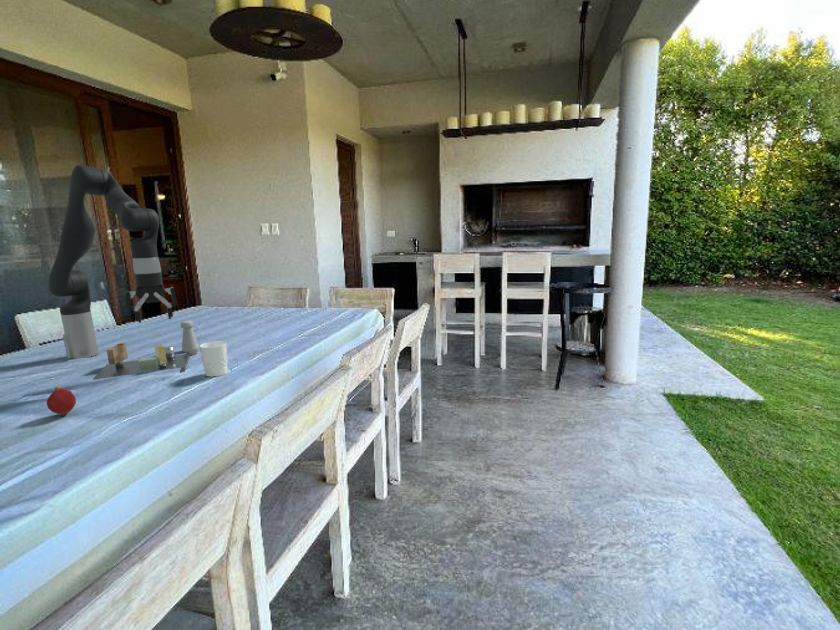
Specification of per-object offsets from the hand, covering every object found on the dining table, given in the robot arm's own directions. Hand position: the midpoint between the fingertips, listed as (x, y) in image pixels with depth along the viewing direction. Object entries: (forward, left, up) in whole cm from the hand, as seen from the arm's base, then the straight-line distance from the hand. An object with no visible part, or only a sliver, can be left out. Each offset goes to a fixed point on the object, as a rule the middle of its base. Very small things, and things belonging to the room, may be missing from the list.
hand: (155, 320), depth 147 cm
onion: (-19, -30, -18) cm, 40 cm away
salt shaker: (+7, +19, -18) cm, 27 cm away
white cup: (+17, -12, -18) cm, 27 cm away
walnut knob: (-14, +8, -16) cm, 23 cm away
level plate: (-6, +5, -18) cm, 19 cm away
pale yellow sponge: (0, 0, -16) cm, 16 cm away
